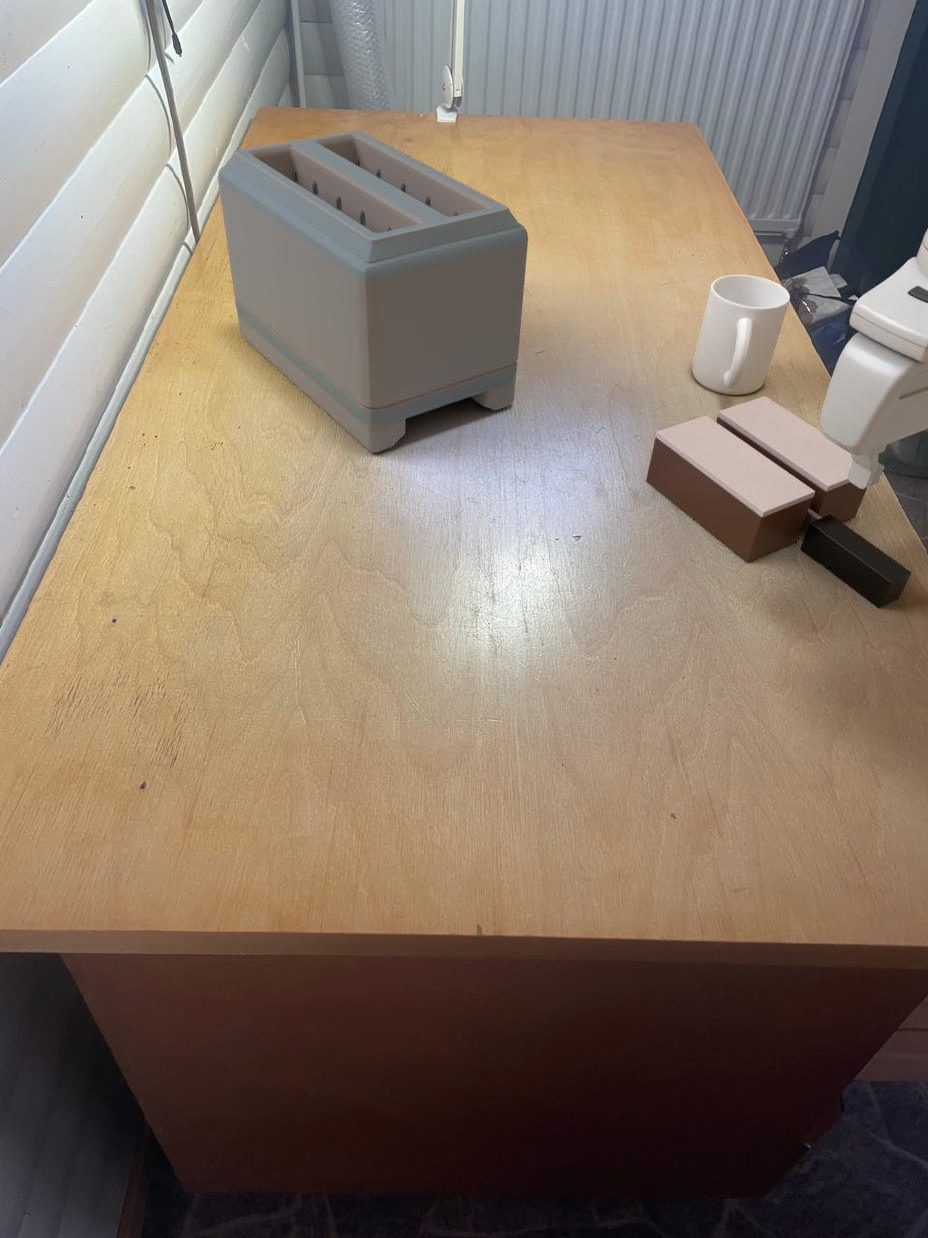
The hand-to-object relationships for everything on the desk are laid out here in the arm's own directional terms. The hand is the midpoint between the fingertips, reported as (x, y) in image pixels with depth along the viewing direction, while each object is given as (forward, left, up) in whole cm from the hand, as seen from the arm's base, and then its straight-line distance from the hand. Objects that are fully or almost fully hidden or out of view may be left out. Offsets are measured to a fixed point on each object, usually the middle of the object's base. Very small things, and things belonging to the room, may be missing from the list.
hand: (902, 466), depth 72 cm
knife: (+7, 0, -11) cm, 13 cm away
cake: (+13, 0, -12) cm, 17 cm away
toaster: (+53, +21, -12) cm, 58 cm away
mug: (+30, -13, -12) cm, 35 cm away
